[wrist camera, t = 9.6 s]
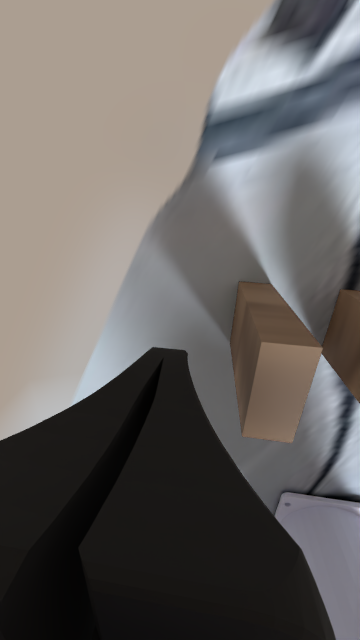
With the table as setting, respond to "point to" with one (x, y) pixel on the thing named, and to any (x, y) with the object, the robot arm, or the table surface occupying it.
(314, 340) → the domino
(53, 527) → the robot arm
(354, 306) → the domino
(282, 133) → the table surface
